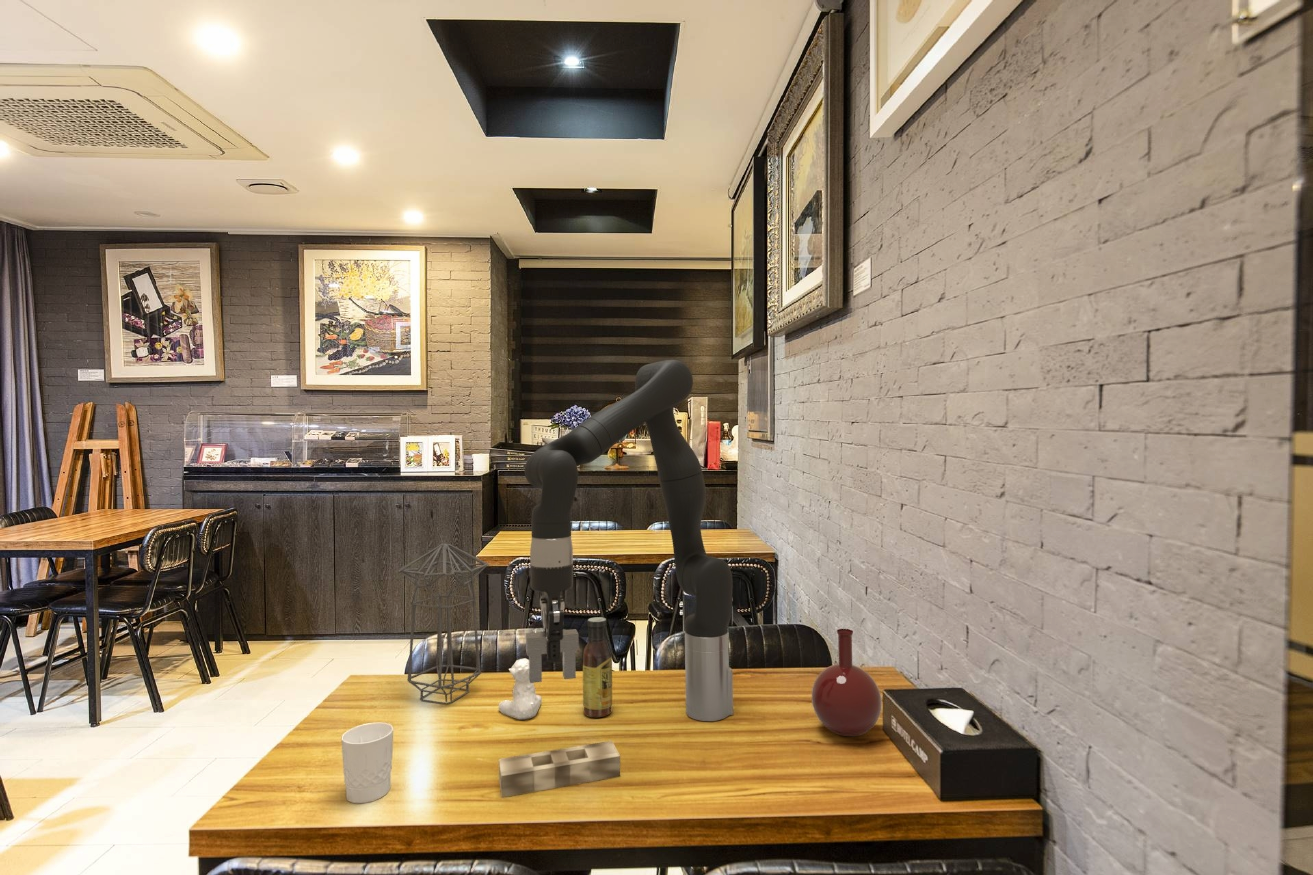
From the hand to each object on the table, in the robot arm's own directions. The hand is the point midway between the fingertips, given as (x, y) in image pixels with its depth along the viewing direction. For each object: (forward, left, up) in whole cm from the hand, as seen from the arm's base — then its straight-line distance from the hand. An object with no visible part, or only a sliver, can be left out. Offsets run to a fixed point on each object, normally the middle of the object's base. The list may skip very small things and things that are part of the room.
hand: (552, 658), depth 114 cm
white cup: (+31, -2, -20) cm, 36 cm away
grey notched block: (0, 0, -4) cm, 4 cm away
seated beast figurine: (+3, -25, -20) cm, 32 cm away
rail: (0, +4, -19) cm, 20 cm away
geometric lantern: (+19, -42, -20) cm, 50 cm away
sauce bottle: (-12, -20, -20) cm, 31 cm away
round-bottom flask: (-56, +6, -20) cm, 60 cm away
